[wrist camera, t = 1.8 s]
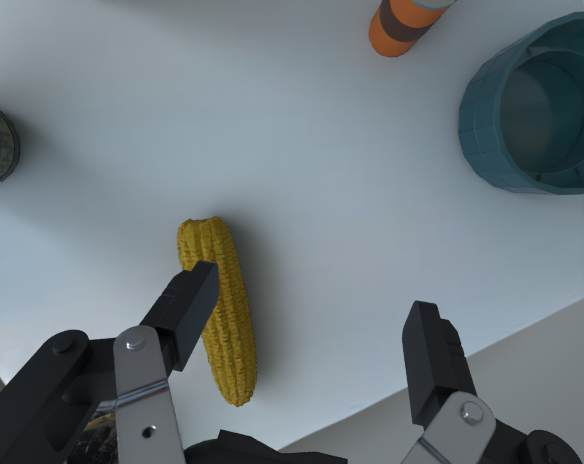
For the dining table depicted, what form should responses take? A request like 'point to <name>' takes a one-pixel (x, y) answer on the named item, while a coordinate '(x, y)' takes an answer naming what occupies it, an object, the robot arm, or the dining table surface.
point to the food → (223, 308)
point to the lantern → (97, 439)
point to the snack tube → (403, 23)
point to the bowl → (530, 112)
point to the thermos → (8, 147)
